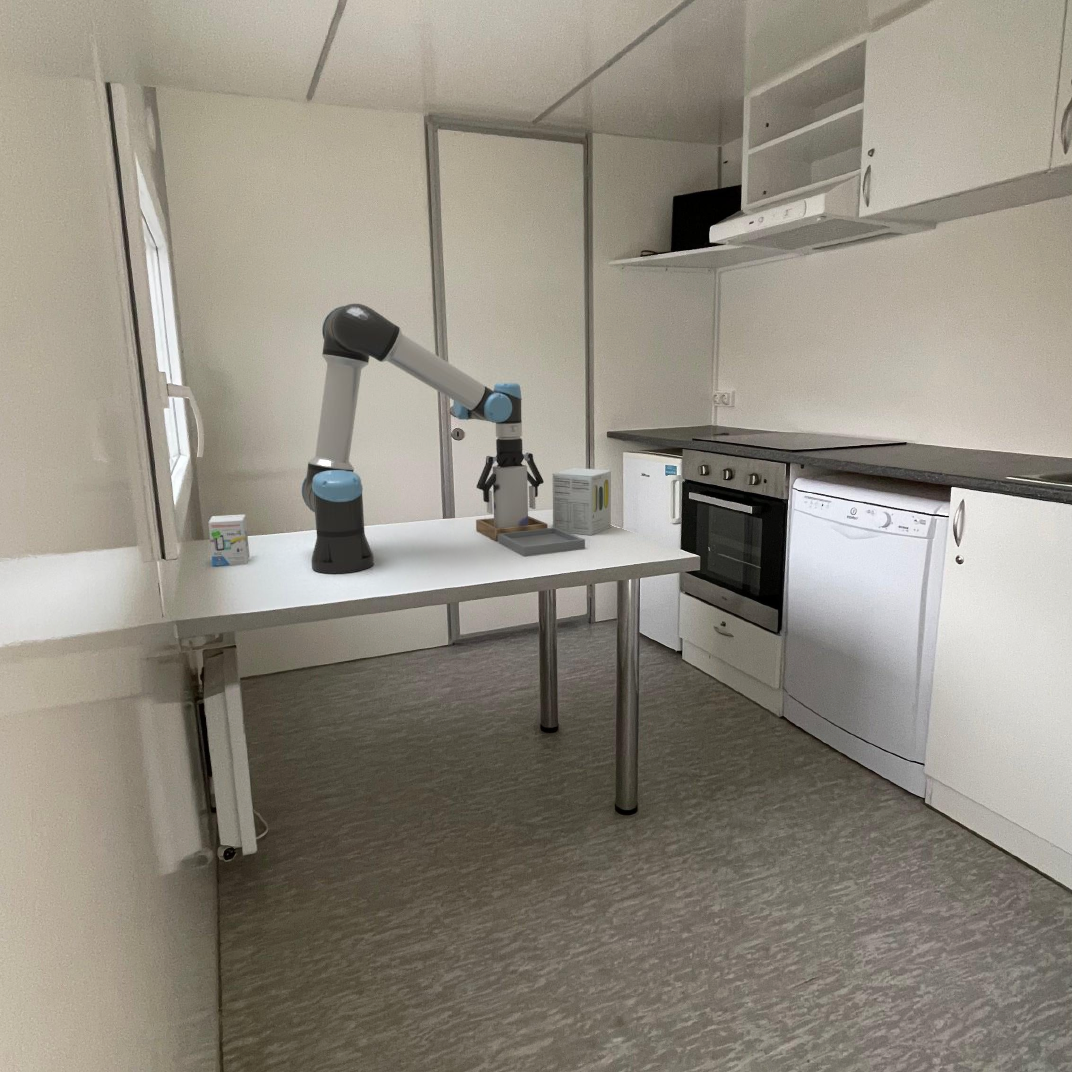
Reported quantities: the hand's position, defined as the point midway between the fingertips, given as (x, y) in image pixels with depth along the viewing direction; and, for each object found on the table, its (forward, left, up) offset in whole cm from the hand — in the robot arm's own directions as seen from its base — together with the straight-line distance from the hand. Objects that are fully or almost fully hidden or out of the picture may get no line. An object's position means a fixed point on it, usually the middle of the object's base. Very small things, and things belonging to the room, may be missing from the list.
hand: (511, 510), depth 228 cm
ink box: (-77, +5, -7) cm, 78 cm away
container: (0, 0, -7) cm, 7 cm away
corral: (0, 0, -7) cm, 7 cm away
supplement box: (+21, -5, -7) cm, 23 cm away
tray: (+1, -18, -7) cm, 19 cm away
